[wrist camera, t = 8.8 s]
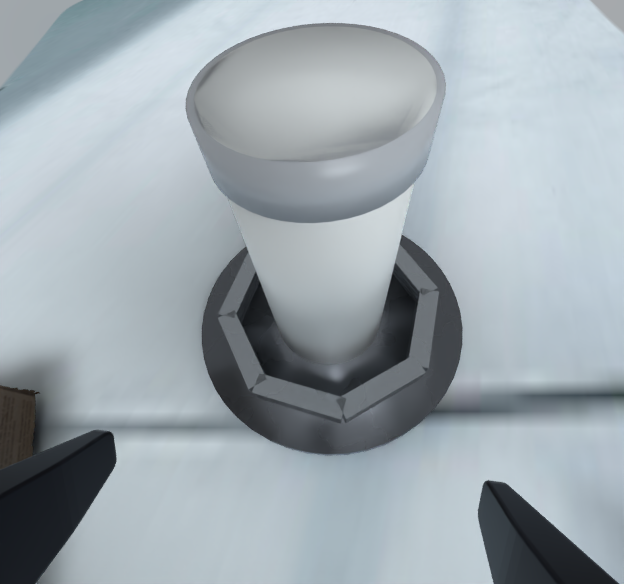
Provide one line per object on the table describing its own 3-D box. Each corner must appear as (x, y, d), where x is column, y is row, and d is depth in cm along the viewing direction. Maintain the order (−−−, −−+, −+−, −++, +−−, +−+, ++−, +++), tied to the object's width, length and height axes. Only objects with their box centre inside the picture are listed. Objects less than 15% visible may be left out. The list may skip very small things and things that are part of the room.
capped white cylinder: (339, 392, 17) (337, 215, 6) (251, 324, 20) (134, 106, 8) (405, 305, 19) (492, 58, 8) (319, 253, 22) (297, 6, 11)
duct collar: (266, 519, 15) (257, 524, 14) (176, 281, 22) (163, 264, 21) (517, 364, 18) (535, 351, 16) (366, 195, 25) (368, 174, 23)
